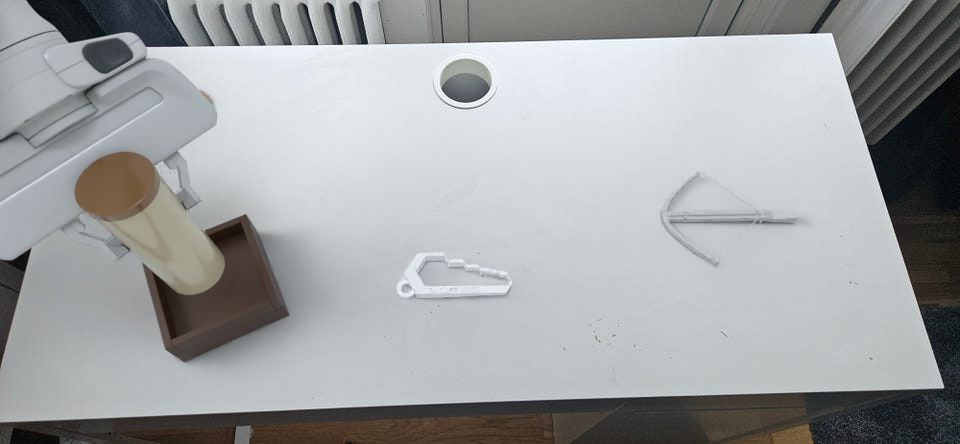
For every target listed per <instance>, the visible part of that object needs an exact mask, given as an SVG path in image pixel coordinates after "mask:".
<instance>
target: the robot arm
mask: <svg viewBox="0 0 960 444" xmlns="http://www.w3.org/2000/svg"><path fill="white" fill-rule="evenodd" d="M148 54H149V53H148V48H147V46H146V45H145V43H144V42H143V40H142V39H141V38H140V36H138V35H137V34H136V33H133V32H130V31H129V32H128V31H127V32H126V31H125V32H120V33H115V34H110V35H105V36H100V37H95V38H89V39H84V40H79V41H74V42H69V41H68V40H67V39H66V38H65V36H63V34H62V33H61V32H60V31H59V29H58V28H56V26H55V25H53V24H52V23H51V22H49V21H48V20H46V19H45V18H43V17H42V16H41V15H39V13H38V12H36V11H35V10H34V8H33V7H32V6H31V5H30V4H29V2H28V1H27V0H0V260H3V261H14V260H16V258H18V257H19V256H21V255H23V254H25V253H26V252H27V251H29V250H31V248H33V247H35V246H36V245H38V244H39V243H41V242H42V241H43V240H45V239H47V238H49V236H51V235H53V234H54V233H55V232H57V231H59V230H60V231H61V232H62V233H63V234H64V235H65V236H66V238H68V239H69V240H70V241H73V242H76V243H80V244H83V245H87V246H90V247H93V248H96V249H98V248H99V250H101V251H102V252H103V254H105V255H106V256H107V257H108V258H109V259H110V260H111V261H112V262H113V263H116V262H117V261H119V260H121V259H122V258H123V257H124V256H126V255H127V254H128V253H131V251H130V250H129V249H128V248H127V247H125V246H124V245H123V244H122V243H121V242H120V241H119V240H118V239H116V238H115V237H114V236H113V235H111V236H109V237H108V238H103V237H99V236H96V235H93V234H90V233H87V232H84V231H86V228H87V225H86V224H85V223H84V221H82V220H81V219H80V218H79V217H80V216H81V215H83V214H85V213H86V212H85V211H83V210H82V209H81V208H80V207H79V205H78V204H77V202H76V199H75V194H74V192H75V185H76V182H77V180H78V178H79V176H80V175H81V173H82V172H83V171H84V170H85V169H86V168H87V167H88V166H89V165H90V164H91V163H93V162H94V161H96V160H97V159H99V158H101V157H103V156H106V155H109V154H112V153H117V152H134V153H138V154H140V155H143V156H145V157H146V158H147V159H149V160H150V161H151V163H152V164H153V165H154V166H155V167H156V166H157V165H158V164H160V163H161V162H162V163H163V164H164V165H165V166H166V167H167V169H168V170H171V171H175V170H176V172H177V177H178V183H179V189H178V190H176V191H175V192H174V193H175V195H176V196H177V197H178V199H179V200H180V201H181V202H182V203H183V205H184V206H185V207H186V209H187V210H188V211H190V209H192V208H193V207H195V206H196V205H198V204H199V203H201V202H202V201H203V199H202V198H201V197H200V196H199V194H198V193H197V192H196V191H195V190H194V188H193V187H192V186H191V185H190V184H191V181H190V175H189V174H190V173H189V167H188V162H187V160H186V159H185V158H184V157H183V155H182V154H181V153H180V152H179V150H181V149H182V148H184V147H186V146H187V145H189V144H190V143H192V142H193V141H195V140H196V139H198V138H199V137H201V136H202V135H204V134H205V133H206V132H208V131H210V130H212V129H213V128H215V127H216V126H217V123H218V111H217V109H216V108H215V107H214V106H213V104H212V103H211V101H210V102H209V101H208V100H207V98H206V97H205V96H204V95H203V94H202V93H201V92H200V91H201V90H200V89H199V88H198V87H197V86H196V85H195V84H194V83H193V82H192V81H191V80H190V79H189V78H188V77H186V75H184V74H183V73H182V72H181V71H180V70H179V69H178V68H177V67H176V66H174V65H173V64H171V63H170V62H168V61H166V60H164V59H160V58H157V57H148ZM147 57H148V58H147ZM199 90H200V91H199Z"/></svg>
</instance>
